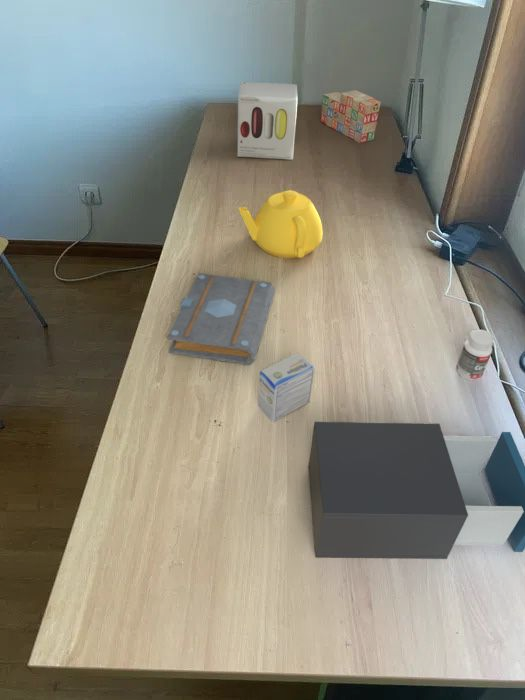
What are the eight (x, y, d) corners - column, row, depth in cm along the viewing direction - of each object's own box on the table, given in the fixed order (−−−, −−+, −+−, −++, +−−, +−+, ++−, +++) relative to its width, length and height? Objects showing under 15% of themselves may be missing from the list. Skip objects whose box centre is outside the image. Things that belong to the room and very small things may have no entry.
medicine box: (294, 387, 98) (297, 350, 92) (310, 403, 95) (315, 366, 90) (257, 407, 94) (258, 369, 89) (273, 423, 92) (276, 386, 86)
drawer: (529, 470, 85) (551, 432, 79) (565, 552, 75) (593, 516, 69) (383, 468, 85) (394, 430, 79) (399, 551, 75) (413, 514, 69)
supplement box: (236, 158, 170) (236, 95, 158) (239, 141, 180) (239, 80, 168) (293, 160, 170) (298, 98, 158) (293, 143, 180) (297, 83, 168)
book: (254, 367, 102) (255, 346, 98) (166, 354, 104) (164, 333, 100) (274, 299, 117) (275, 279, 114) (197, 289, 119) (196, 269, 116)
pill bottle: (473, 384, 100) (487, 349, 94) (450, 370, 102) (462, 335, 97) (487, 372, 102) (501, 337, 97) (464, 359, 105) (477, 324, 99)
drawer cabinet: (422, 468, 86) (439, 423, 79) (446, 559, 75) (468, 515, 68) (308, 467, 85) (314, 421, 78) (315, 557, 75) (323, 513, 68)
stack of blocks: (319, 122, 194) (323, 84, 186) (334, 119, 197) (338, 81, 189) (360, 143, 181) (365, 104, 173) (374, 140, 184) (381, 100, 175)
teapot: (308, 222, 142) (313, 173, 133) (334, 262, 128) (341, 211, 120) (231, 230, 138) (230, 181, 129) (249, 273, 124) (250, 221, 116)
